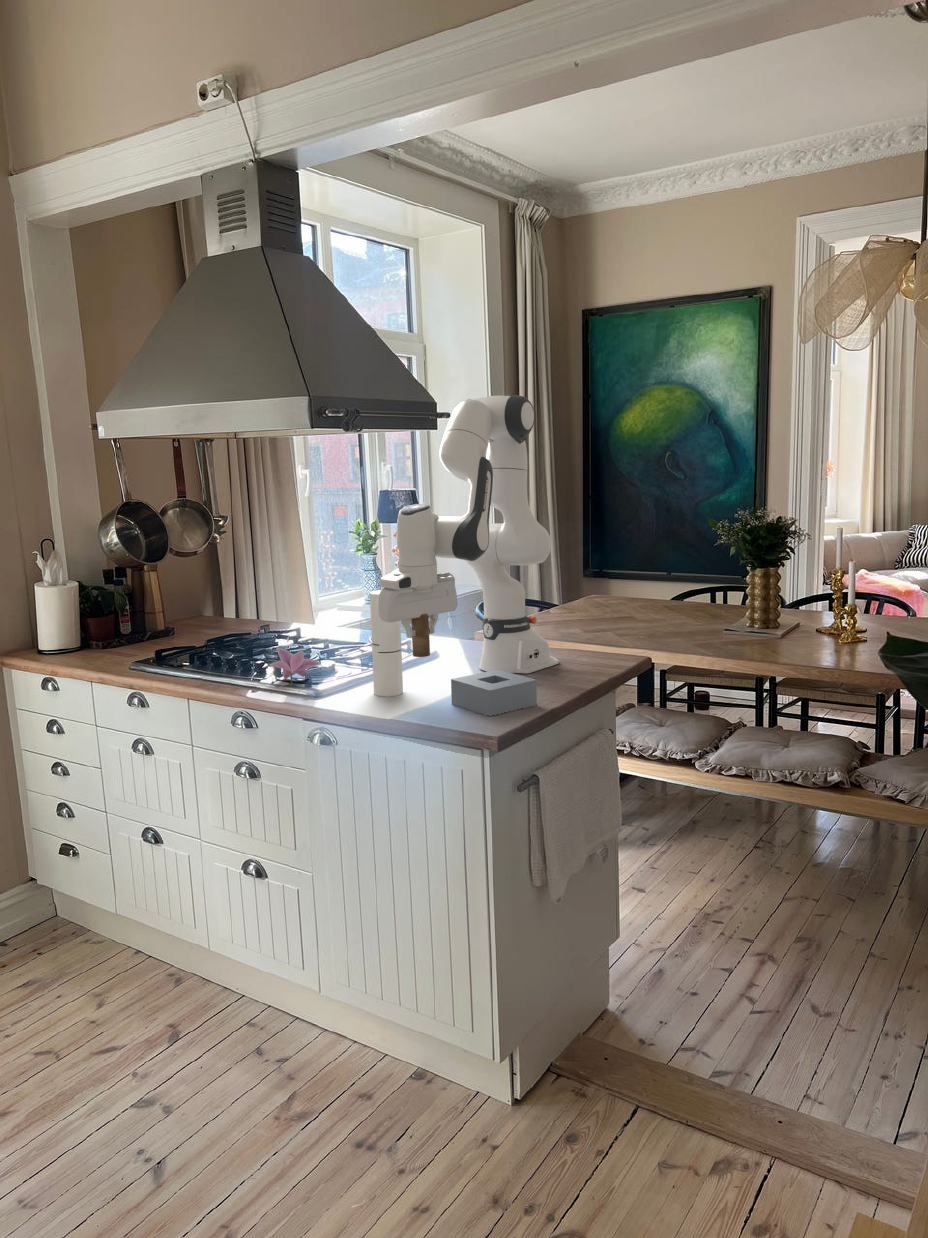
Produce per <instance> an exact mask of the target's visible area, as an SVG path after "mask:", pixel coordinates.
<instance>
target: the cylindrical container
mask: <svg viewBox="0 0 928 1238" xmlns="http://www.w3.org/2000/svg"><path fill="white" fill-rule="evenodd" d="M381 590H382V589H380V590H378V589H377V590H372V591H370V592H369V601H370V602H369V603H370V604H369V605H370V607H369V608H370V626H371V629H370V631H371V632H370V633H371V634H370V635H371V652H372V654H371V655H372V676H373V679H372V682H373V694H374V695H375V696H378V697H394V696H395V697H396V696H399V695H402V694H403V693H404V684H403V680H404V679H403V659H402V658H403V657H402V656H403V655H402V654H403V653H402V650H403V649H402V630H401V629H402V628H401V627H402V623H401V621H397V622H391V623H389V622H385V621H382V620H381V618H380V617H379V594H380V591H381Z"/></svg>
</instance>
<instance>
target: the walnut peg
mask: <svg viewBox="0 0 928 1238" xmlns="http://www.w3.org/2000/svg"><path fill="white" fill-rule="evenodd" d="M429 620H430V618H429V616H428V614H421V616H420V617H418V618H413V619H411V624H410V625H411V628H412V629H414V630H416V633H415V634H416V637H413V638H411V643H412V644H411V645H412V656H413V657H414V658H426V657H429V656H431V647H430V646H431V645H430V634H429Z"/></svg>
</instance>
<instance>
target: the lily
mask: <svg viewBox="0 0 928 1238" xmlns="http://www.w3.org/2000/svg"><path fill="white" fill-rule="evenodd" d="M275 650H276V651H277V654H278V657H279V659H280V660H277V661H274V662H272V663H270V664H269V666H270V667H274V668H278V669H282V676H283V679H284V678H287V679H290V686H291V685H292V686H293V676H294V675H296V674H297V676H298V675H299V676H301V677H302V678H304V676H305V673H306V672H308V671H307V670H308V669H311V668H314V667H316V666H317V667H318V666H319V665H321V662H320V661H318V660H316V659H311V658H305V652H304V650H298V651H297V652H295V653H292V652H291V651H289V650H287V649H285V648H282V647H279V646H277V647H276V649H275Z"/></svg>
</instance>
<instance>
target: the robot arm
mask: <svg viewBox="0 0 928 1238" xmlns="http://www.w3.org/2000/svg"><path fill="white" fill-rule="evenodd" d="M455 405H456V406H454V408H453V410H452V411H451V412H452V413H451V416H450V418H449V421H448V422H447V426H446V428H445V431H444V433H443V436H442V440H441V443H440V447H439V460H440V462H441V464H442V466H443V467H444V468H445V469H446V471H448V472H449V473H450V474H451V475H452V476H454V477H455V478H458V479H460V480H462V481H464V482H467V483H468V484H470V491H469V499H468V509H467V511H466V513H465V514H463V515H462V516H442V515H439V514H437V513H435V512H433V509H432V506H431V505H429V504H426V503H414V504H409V505H407V506H404V507H402V508H401V509H400V510H399V512H398V516H397V522H396V545H397V549H398V553H399V554H398V556H399V557H398V562H397V568H396V569H395V570H393V571H392V572H390V573H387V574H386V575H384V576H382V577H380V579H379V586H380V587H381V589H380V590H381V591H380V594H379V617H380V618H381V620H382V621H385V622H389V623H391V622H397V621H401V626H402V627H403V628H404V630H405V635H406V638H408V639H412V638H413V637H416V634H415V633H416V630H414V629H412V624H411V619H413V618H418V617H420V616H421V614H428V616H429V635H432V634H435V632H436V631H435V627H436V625H437V622H438V620H439V615H440V614H445V613H449V612H455V611H456V610H457V608H458V606H459V604H458V603H459V601H458V595H457V588H456V578H455V576H454V575H453V574H451V572H448V571H445V572H440V573H439V572H438V564H437V562H438V561H437V558H442V559H459V560H463V561H464V562H466V563H468V565H469V566H470V568H472V569H473V571H474V572H475V574H476V575H477V578H478V580H479V582H480V585H481V589H482V590H481V591H482V597H483V600H482V601H483V614H484V615H483V616H482V632H483V643H482V651H481V657H480V663H479V666H478V669H479V670H482V671H483V672H487V671H492V670H501V671H505V672H509V673H512V674H530V673H533V672H538V671H540V670H543V669H546V668H549V667H552V666H555V665H558V664H559V659H557V658H556V657H553V656H552V655H551V650H550V645H549V643H548V641H547V640H546V639H545V638H544V637H542V636H541V635H539V634H538V633H537V632H535V630H533V629H532V628H531V624H533V625H536V624H537V623H538V617H537V616H533V615H530V616H527V615H526V591H525V590H526V589H525V587H524V586H523V584H522V583H521V582H520V581H519V580H517V579H515V578H514V577H512V576H511V575H510V574H509V572H508V571H507V569H506V566H522V567H523V566H525V567H526V566H532V565H537V564H542V563H544V562H545V561H546V560H547V558H548V557H549V555H550V553H551V551H552V550H551V549H552V538H551V536H550V534H549V532H548V530H547V529H546V528H545V527H544V526H542V524H540V523H539V521H538V520H537V519H536V518H535V516H534V515H533V512H532V510H531V507H530V505H529V499H528V452H527V444H526V443H527V442H526V439H527V437H528V436H529V435H530V433H531V431H532V430H533V428H534V424H535V418H536V417H535V410H534V409H535V408H534V405H533V404H532V402H531V401H530V400H529V398H527V397H526V396H523V395H518V394H512V395H490V396H486V397H478V398H474V399H470V398H469V399H465V400H462V401H460V402H458V403H457V404H455ZM491 507H492V508H494V509H496V510H497V511H500V513H501V515H502V517H503V523H500V522H499V523H495V522H494V523H493V522H492V523H490V513H491Z"/></svg>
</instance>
